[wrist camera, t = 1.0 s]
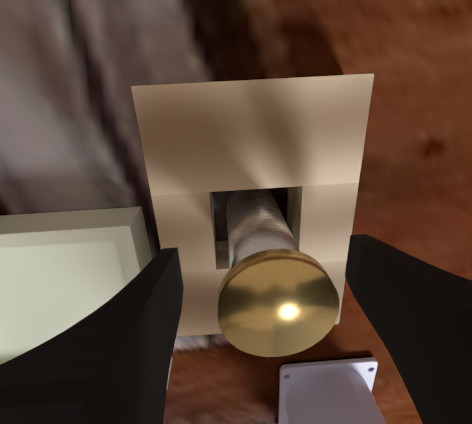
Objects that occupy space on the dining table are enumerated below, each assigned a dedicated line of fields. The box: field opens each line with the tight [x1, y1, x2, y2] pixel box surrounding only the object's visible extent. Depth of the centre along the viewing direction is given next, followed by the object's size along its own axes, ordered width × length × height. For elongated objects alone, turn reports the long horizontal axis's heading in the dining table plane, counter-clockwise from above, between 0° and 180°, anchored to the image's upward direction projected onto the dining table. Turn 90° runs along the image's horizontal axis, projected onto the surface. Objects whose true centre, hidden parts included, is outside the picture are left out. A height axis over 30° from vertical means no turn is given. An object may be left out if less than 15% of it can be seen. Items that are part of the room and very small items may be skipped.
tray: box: [0, 207, 172, 387], centre depth 18 cm, size 13×13×2 cm
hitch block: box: [131, 74, 374, 337], centre depth 16 cm, size 14×10×3 cm
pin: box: [218, 188, 340, 357], centre depth 13 cm, size 4×4×9 cm
